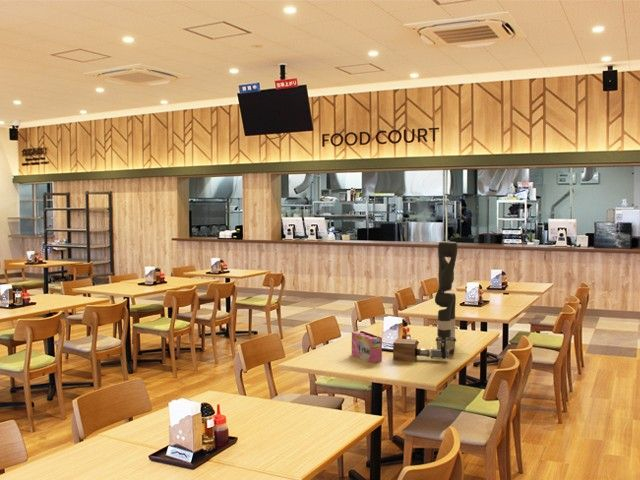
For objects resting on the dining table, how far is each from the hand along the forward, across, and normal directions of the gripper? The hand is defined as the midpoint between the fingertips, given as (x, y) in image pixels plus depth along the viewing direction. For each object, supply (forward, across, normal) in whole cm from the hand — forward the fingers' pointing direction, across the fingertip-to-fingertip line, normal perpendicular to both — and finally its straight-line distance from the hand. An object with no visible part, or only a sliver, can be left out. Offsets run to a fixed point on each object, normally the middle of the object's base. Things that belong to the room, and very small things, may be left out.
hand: (443, 358), depth 375 cm
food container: (+2, -18, -1) cm, 18 cm away
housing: (+2, 0, -22) cm, 22 cm away
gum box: (+2, +5, -44) cm, 44 cm away
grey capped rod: (+1, 0, -7) cm, 7 cm away
